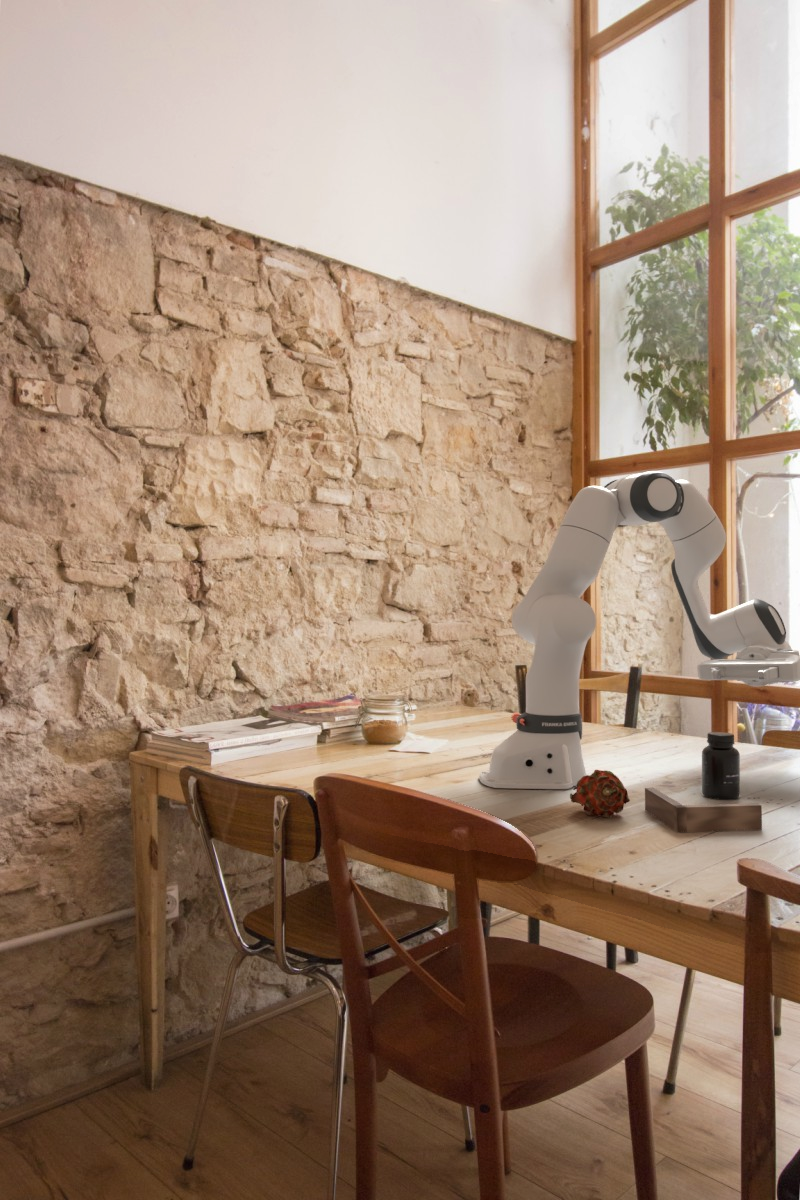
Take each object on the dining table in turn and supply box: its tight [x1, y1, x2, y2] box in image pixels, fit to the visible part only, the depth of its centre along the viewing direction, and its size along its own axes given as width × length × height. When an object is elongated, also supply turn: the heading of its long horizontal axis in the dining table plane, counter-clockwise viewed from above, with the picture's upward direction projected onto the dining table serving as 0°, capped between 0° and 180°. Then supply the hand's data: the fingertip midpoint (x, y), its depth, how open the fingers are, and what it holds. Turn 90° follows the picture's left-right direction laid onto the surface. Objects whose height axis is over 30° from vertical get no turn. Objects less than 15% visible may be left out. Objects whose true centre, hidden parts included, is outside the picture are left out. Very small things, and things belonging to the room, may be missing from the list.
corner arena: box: [644, 787, 763, 833], centre depth 146 cm, size 14×15×4 cm
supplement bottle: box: [701, 731, 741, 801], centre depth 164 cm, size 7×7×12 cm
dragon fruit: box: [569, 769, 631, 819], centre depth 151 cm, size 8×8×12 cm
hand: (738, 675), depth 174 cm, fingers open, 8 cm apart
